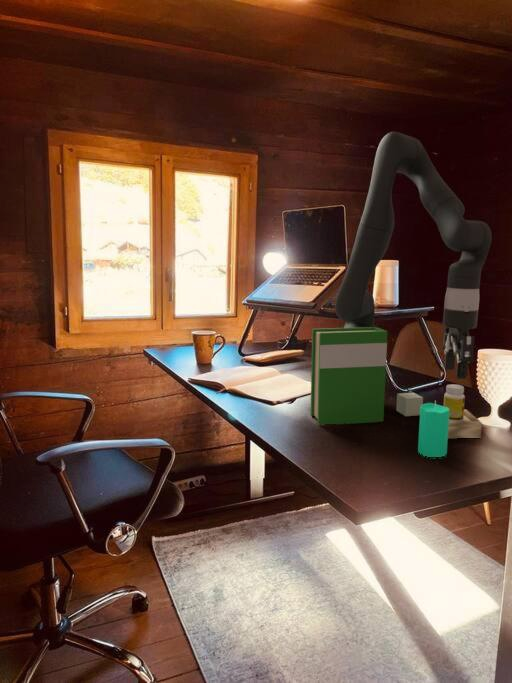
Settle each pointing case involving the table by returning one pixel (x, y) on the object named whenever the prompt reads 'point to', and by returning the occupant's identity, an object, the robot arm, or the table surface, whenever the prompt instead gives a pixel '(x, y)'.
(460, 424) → the birch block
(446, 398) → the supplement bottle
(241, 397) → the table surface
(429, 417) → the candle
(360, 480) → the table surface
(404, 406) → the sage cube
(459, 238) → the robot arm
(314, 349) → the hardback book
